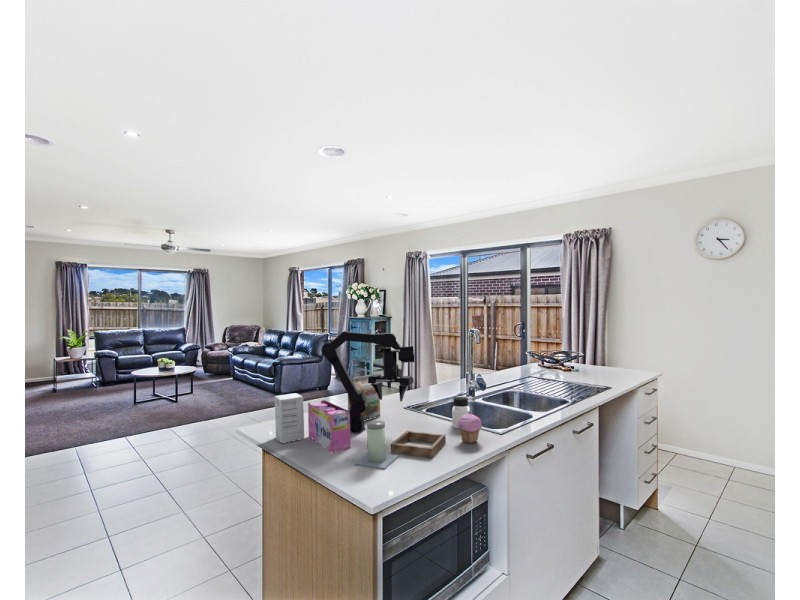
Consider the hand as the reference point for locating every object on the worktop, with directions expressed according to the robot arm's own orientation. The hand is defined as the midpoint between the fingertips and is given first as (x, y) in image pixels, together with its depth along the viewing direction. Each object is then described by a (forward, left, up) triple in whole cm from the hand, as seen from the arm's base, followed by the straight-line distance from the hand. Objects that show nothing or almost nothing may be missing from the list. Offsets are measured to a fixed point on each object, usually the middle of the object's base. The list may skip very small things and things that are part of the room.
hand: (391, 400), depth 166 cm
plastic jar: (+9, -32, -12) cm, 35 cm away
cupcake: (+34, -4, -12) cm, 36 cm away
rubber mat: (+9, -32, -12) cm, 35 cm away
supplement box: (-34, -23, -12) cm, 43 cm away
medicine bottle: (+26, +14, -12) cm, 32 cm away
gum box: (-17, -21, -12) cm, 30 cm away
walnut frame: (+18, -16, -12) cm, 27 cm away
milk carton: (-20, +13, -12) cm, 27 cm away
